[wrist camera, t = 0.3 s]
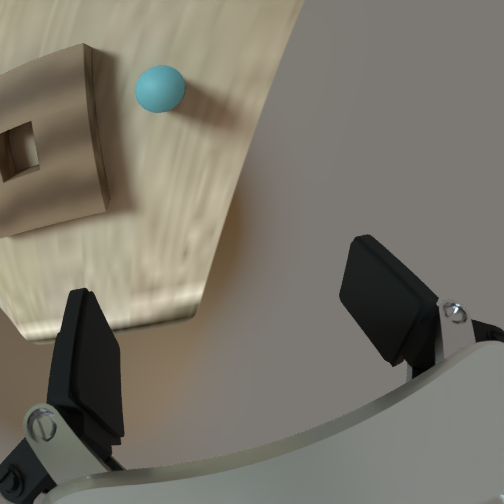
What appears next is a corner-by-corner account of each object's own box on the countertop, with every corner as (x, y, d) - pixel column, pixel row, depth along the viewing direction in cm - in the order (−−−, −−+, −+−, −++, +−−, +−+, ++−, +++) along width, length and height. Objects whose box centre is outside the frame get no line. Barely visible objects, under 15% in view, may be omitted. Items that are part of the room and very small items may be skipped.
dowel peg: (140, 73, 26) (134, 69, 19) (178, 68, 27) (184, 63, 20) (142, 108, 28) (137, 116, 21) (179, 103, 29) (186, 109, 22)
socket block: (-34, 100, 16) (-50, 105, 13) (91, 47, 22) (83, 43, 18) (-4, 228, 28) (-15, 243, 25) (110, 198, 33) (106, 211, 30)
